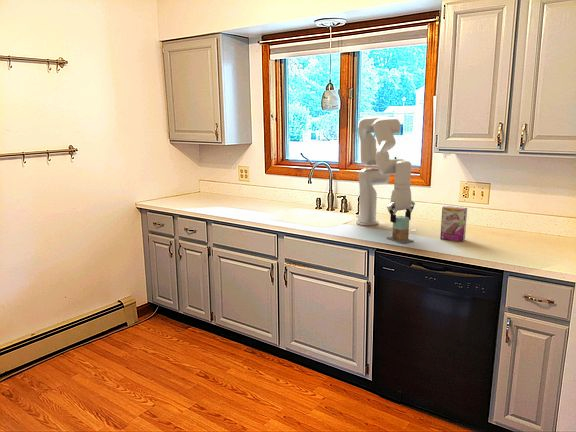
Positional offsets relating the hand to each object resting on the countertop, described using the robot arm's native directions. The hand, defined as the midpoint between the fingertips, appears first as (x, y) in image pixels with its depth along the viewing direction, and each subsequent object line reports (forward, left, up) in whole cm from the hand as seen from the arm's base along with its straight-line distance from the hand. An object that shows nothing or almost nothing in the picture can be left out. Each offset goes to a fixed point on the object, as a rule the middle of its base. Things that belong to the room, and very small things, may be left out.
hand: (400, 221), depth 234 cm
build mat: (+1, 0, -10) cm, 10 cm away
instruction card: (-12, +19, -10) cm, 25 cm away
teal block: (0, 0, -4) cm, 4 cm away
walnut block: (0, 0, -9) cm, 9 cm away
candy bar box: (+14, +22, -10) cm, 28 cm away
